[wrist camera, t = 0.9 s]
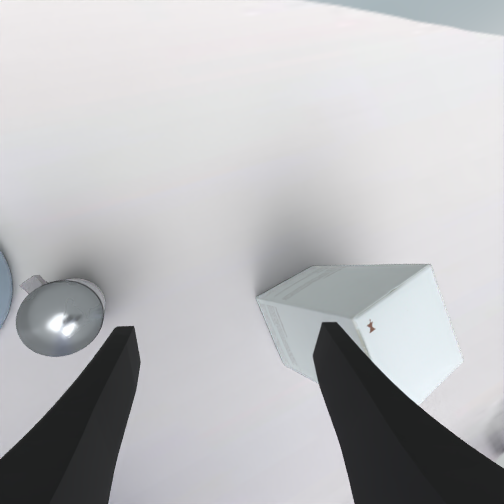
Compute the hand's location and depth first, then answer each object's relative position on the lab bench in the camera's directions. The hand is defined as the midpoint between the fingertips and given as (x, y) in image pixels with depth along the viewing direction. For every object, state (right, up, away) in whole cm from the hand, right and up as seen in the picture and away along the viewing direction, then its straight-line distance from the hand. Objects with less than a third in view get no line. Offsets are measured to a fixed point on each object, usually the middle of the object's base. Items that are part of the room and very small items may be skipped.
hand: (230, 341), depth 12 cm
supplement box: (+5, -2, +18) cm, 19 cm away
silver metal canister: (-12, 0, +10) cm, 16 cm away
